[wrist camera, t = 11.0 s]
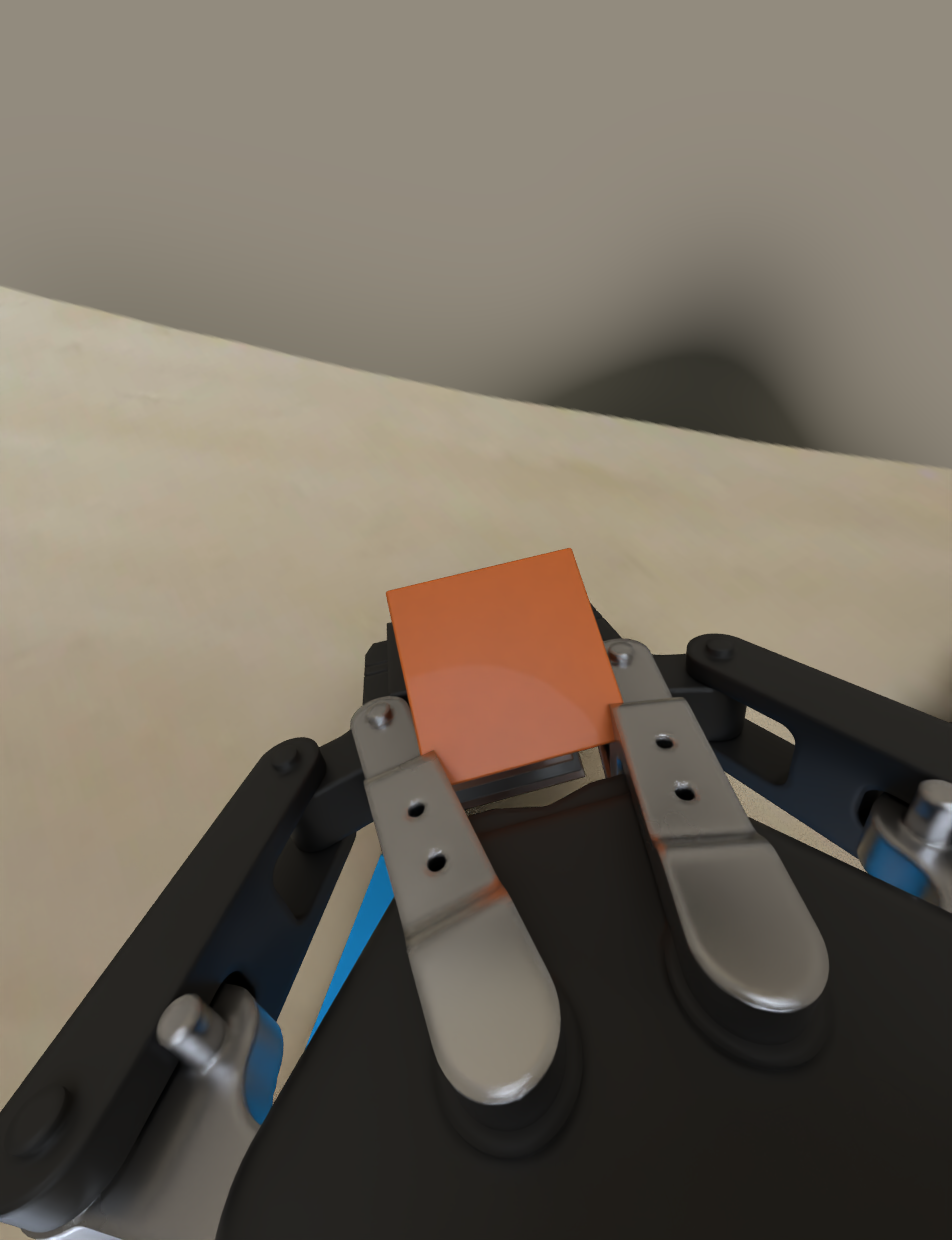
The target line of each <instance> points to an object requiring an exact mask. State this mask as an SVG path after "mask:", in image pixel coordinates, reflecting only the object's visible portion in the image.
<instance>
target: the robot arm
mask: <svg viewBox="0 0 952 1240" xmlns="http://www.w3.org/2000/svg"><path fill="white" fill-rule="evenodd" d="M590 605H591V608H592V611H593V614H594V616H595V619H596V622H597V625H598V628H599V631H600V634H601V637H602V640H603V643H604V646H605V649H606V652H607V655H608V658H609V661H610V664H611V667H612V670H613V673H614V676H615V679H616V681H617V684H618V687H619V690H620V693H621V696H622V699H623V703H613V704H609V708H610V714H611V721H612V727H613V733H614V739H615V742H612V743H608V744H605V745H601V746H598V749H599V753H600V757H601V761H602V765H603V770H604V774H605V778H606V779H602V780H598V781H595V782H591V783H589V784H587V785H586V786H584V787H582V788H580V789H578V790H576V791H575V792H573V793H571V794H569V795H567V796H566V797H564V798H562V799H560V800H558V801H557V802H555V803H553V804H551V805H549V806H544V807H527V808H504V809H493V810H489V811H485V812H482V813H478V814H474V815H471V816H467V815H466V813H465V811H464V809H463V807H462V805H461V803H460V801H459V799H458V797H457V795H456V793H455V791H454V789H453V787H452V785H451V783H450V781H449V779H448V777H447V775H446V773H445V771H444V769H443V767H442V765H441V763H440V761H439V759H438V757H437V755H436V753H435V752H434V750H432V751H430V752H428V753H425V754H423V755H421V756H420V751H419V747H418V742H417V737H416V733H415V728H414V723H413V719H412V714H411V709H410V705H409V700H408V695H407V691H406V686H405V681H404V677H403V672H402V667H401V663H400V658H399V653H398V648H397V644H396V639H395V634H394V630H393V625H392V622H391V623H387V640H386V641H382V642H378V643H374V644H373V645H372V646H371V648H370V649H369V650H368V652H367V653H366V655H365V672H364V675H365V677H364V690H363V706H361V707H360V708H359V709H358V710H357V711H356V712H355V713H354V715H353V717H352V719H351V723H350V725H351V729H350V730H349V731H348V732H347V733H345V734H344V735H342V736H341V737H339V738H337V739H335V740H333V741H331V742H329V743H327V744H325V745H323V746H321V747H318V745H317V743H316V742H315V741H314V740H312V739H310V738H304V737H300V738H293V739H289V740H286V741H284V742H282V743H280V744H278V745H276V746H274V747H273V748H271V749H270V750H269V751H268V752H266V753H265V754H264V755H263V756H262V757H261V759H260V760H259V761H258V763H257V764H256V765H255V767H254V768H253V769H252V771H251V772H250V773H249V775H248V776H247V778H246V779H245V780H244V782H243V783H242V784H241V786H240V787H239V788H238V790H237V791H236V792H235V794H234V795H233V797H232V798H231V799H230V801H229V802H228V803H227V805H226V806H225V807H224V809H223V810H222V812H221V813H220V814H219V816H218V817H217V818H216V820H215V821H214V822H213V824H212V825H211V826H210V828H209V829H208V831H207V832H206V833H205V835H204V836H203V837H202V839H201V840H200V841H199V843H198V844H197V846H196V847H195V848H194V850H193V851H192V852H191V854H190V855H189V856H188V858H187V859H186V861H185V862H184V863H183V865H182V866H181V867H180V869H179V870H178V871H177V873H176V874H175V875H174V877H173V878H172V880H171V881H170V882H169V884H168V885H167V886H166V888H165V889H164V890H163V892H162V893H161V895H160V896H159V897H158V899H157V900H156V901H155V903H154V904H153V905H152V907H151V908H150V909H149V911H148V912H147V914H146V915H145V916H144V918H143V919H142V920H141V922H140V923H139V924H138V926H137V927H136V929H135V930H134V931H133V933H132V934H131V935H130V937H129V938H128V939H127V941H126V942H125V943H124V945H123V946H122V948H121V949H120V950H119V952H118V953H117V954H116V956H115V957H114V958H113V960H112V961H111V963H110V964H109V965H108V967H107V968H106V969H105V971H104V972H103V973H102V975H101V976H100V978H99V979H98V980H97V982H96V983H95V984H94V986H93V987H92V988H91V990H90V991H89V992H88V994H87V995H86V997H85V998H84V999H83V1001H82V1002H81V1003H80V1005H79V1006H78V1007H77V1009H76V1010H75V1012H74V1013H73V1014H72V1016H71V1017H70V1018H69V1020H68V1021H67V1022H66V1024H65V1025H64V1026H63V1028H62V1029H61V1031H60V1032H59V1033H58V1035H57V1036H56V1037H55V1039H54V1040H53V1041H52V1043H51V1044H50V1046H49V1047H48V1048H47V1050H46V1051H45V1052H44V1054H43V1055H42V1056H41V1058H40V1059H39V1060H38V1062H37V1063H36V1065H35V1066H34V1067H33V1069H32V1070H31V1071H30V1073H29V1074H28V1075H27V1077H26V1078H25V1080H24V1081H23V1082H22V1084H21V1085H20V1086H19V1088H18V1089H17V1090H16V1092H15V1093H14V1095H13V1096H12V1097H11V1099H10V1100H9V1101H8V1103H7V1104H6V1105H5V1107H4V1108H3V1109H2V1111H1V1112H0V1222H3V1223H6V1224H9V1225H12V1226H16V1227H19V1228H21V1230H22V1232H23V1233H25V1234H26V1235H27V1236H28V1237H31V1238H34V1239H37V1240H952V724H951V723H948V722H946V721H943V720H941V719H938V718H936V717H933V716H931V715H929V714H926V713H924V712H921V711H919V710H916V709H914V708H911V707H909V706H906V705H904V704H901V703H899V702H896V701H894V700H891V699H889V698H886V697H884V696H881V695H879V694H876V693H874V692H871V691H869V690H866V689H864V688H861V687H859V686H856V685H854V684H852V683H849V682H847V681H844V680H842V679H839V678H837V677H834V676H832V675H829V674H827V673H824V672H822V671H819V670H817V669H814V668H812V667H809V666H807V665H804V664H802V663H799V662H797V661H794V660H792V659H789V658H787V657H784V656H782V655H780V654H777V653H775V652H772V651H770V650H767V649H765V648H762V647H760V646H757V645H755V644H752V643H750V642H747V641H745V640H742V639H740V638H737V637H734V636H730V635H725V634H705V635H701V636H698V637H695V638H693V639H692V640H691V641H690V642H689V643H688V645H687V652H686V654H676V655H653V654H651V652H650V650H649V649H648V648H647V647H646V646H645V645H644V644H642V643H640V642H638V641H635V640H631V639H622V638H621V637H620V636H619V634H618V633H617V632H616V631H615V630H614V629H613V628H612V627H611V626H610V624H609V623H608V622H607V621H606V620H605V619H604V618H602V615H601V614H600V613H599V612H598V611H596V609H595V608H594V607H593V605H592V604H591V603H590ZM747 706H748V707H750V708H752V709H754V710H756V711H758V712H760V713H762V714H764V715H766V716H767V717H769V718H771V719H773V720H775V721H777V722H779V723H781V724H782V725H784V726H785V727H786V728H787V729H788V730H789V731H790V732H791V733H792V735H793V737H794V739H795V745H793V744H791V743H790V742H788V741H786V740H784V739H782V738H780V737H778V736H777V735H775V734H773V733H771V732H769V731H767V730H765V729H764V728H762V727H760V726H758V725H756V724H754V723H753V722H751V721H749V720H747V719H745V713H746V707H747ZM724 771H725V772H726V773H728V774H729V775H731V776H732V777H734V778H735V779H737V780H739V781H740V782H742V783H743V784H745V785H746V786H748V787H749V788H751V789H752V790H754V791H755V792H757V793H758V794H760V795H761V796H763V797H764V798H766V799H767V800H769V801H771V802H772V803H774V804H775V805H777V806H778V807H780V808H781V809H783V810H784V811H786V812H787V813H789V814H790V815H792V816H793V817H795V818H796V819H798V820H799V821H801V822H803V823H804V824H806V825H807V826H809V827H810V828H812V829H813V830H815V831H816V832H818V833H819V834H821V835H822V836H824V837H825V838H827V839H828V840H830V841H831V842H833V843H834V844H836V845H838V846H839V847H841V848H842V849H844V850H845V851H847V852H848V853H850V854H851V855H853V856H854V857H856V858H857V859H859V860H860V862H861V864H862V866H863V867H864V869H865V870H866V872H867V873H866V872H864V871H862V870H860V869H857V868H855V867H853V866H851V865H849V864H847V863H845V862H843V861H840V860H838V859H836V858H834V857H832V856H830V855H828V854H826V853H824V852H821V851H819V850H817V849H815V848H813V847H811V846H809V845H807V844H805V843H802V842H800V841H798V840H796V839H794V838H792V837H790V836H788V835H786V834H783V833H781V832H779V831H777V830H775V829H773V828H771V827H769V826H766V825H764V824H762V823H760V822H758V821H756V820H754V819H752V818H750V817H747V815H746V813H745V811H744V809H743V807H742V805H741V803H740V801H739V799H738V797H737V796H736V794H735V792H734V790H733V788H732V786H731V784H730V782H729V780H728V778H727V776H726V775H725V773H724ZM373 821H374V824H375V827H376V831H377V835H378V838H379V842H380V846H381V849H382V853H383V857H384V860H385V864H386V868H387V871H388V875H389V879H390V882H391V886H392V889H393V893H394V897H393V899H392V901H391V903H390V904H389V906H388V908H387V909H386V911H385V913H384V915H383V916H382V918H381V920H380V921H379V923H378V925H377V927H376V928H375V930H374V932H373V934H372V935H371V937H370V939H369V940H368V942H367V944H366V946H365V947H364V949H363V951H362V952H361V954H360V956H359V958H358V959H357V961H356V963H355V964H354V966H353V968H352V970H351V971H350V973H349V975H348V977H347V978H346V980H345V982H344V983H343V985H342V987H341V989H340V990H339V992H338V994H337V995H336V997H335V999H334V1001H333V1002H332V1004H331V1006H330V1008H329V1009H328V1011H327V1013H326V1014H325V1016H324V1018H323V1020H322V1021H321V1023H320V1025H319V1026H318V1028H317V1030H316V1032H315V1033H314V1035H313V1037H312V1038H311V1040H310V1042H309V1044H308V1045H307V1047H306V1049H305V1051H304V1052H303V1054H302V1056H301V1057H300V1059H299V1061H298V1063H297V1064H296V1066H295V1068H294V1069H293V1071H292V1073H291V1075H290V1076H289V1078H288V1080H287V1082H286V1083H285V1085H284V1087H283V1088H282V1090H281V1092H280V1094H279V1095H278V1097H277V1099H276V1100H275V1102H274V1104H273V1093H274V1091H275V1088H276V1084H277V1076H278V1073H279V1070H280V1066H281V1062H282V1057H283V1036H282V1033H281V1029H280V1027H279V1025H278V1024H277V1022H276V1021H277V1019H278V1017H279V1015H280V1012H281V1010H282V1008H283V1005H284V1003H285V1001H286V998H287V996H288V994H289V991H290V989H291V987H292V984H293V982H294V980H295V977H296V975H297V973H298V971H299V968H300V966H301V964H302V961H303V959H304V957H305V954H306V952H307V950H308V947H309V945H310V943H311V940H312V938H313V936H314V933H315V931H316V929H317V926H318V924H319V922H320V920H321V917H322V915H323V913H324V910H325V908H326V906H327V903H328V901H329V899H330V896H331V894H332V892H333V889H334V887H335V885H336V882H337V880H338V878H339V876H340V873H341V871H342V869H343V866H344V864H345V862H346V859H347V857H348V855H349V852H350V850H351V848H352V845H353V843H354V841H355V838H356V831H358V830H360V829H361V828H363V827H365V826H366V825H368V824H370V823H372V822H373ZM272 1105H273V1106H272Z"/></svg>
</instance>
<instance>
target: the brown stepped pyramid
mask: <svg viewBox="0 0 952 1240" xmlns="http://www.w3.org/2000/svg"><path fill="white" fill-rule="evenodd" d="M583 777H585V772H584V769H583V765H582V762H581V759H580V756H579V752H575V753H571V754H568V755H564V756H560V757H556V758H553V759H549V760H545V761H542V762H538V763H534V764H530V765H527V766H523V767H519V768H516V769H512V770H508V771H504V772H501V773H497V774H493V775H490V776H486V777H482V778H479V779H475V780H471V781H467V782H464V783H460V784H456V785H453V786H452V787H453V789H454V791H455V793H456V795H457V797H458V799H459V801H460V803H461V805H462V807H463V809H464V810H466V809H469V808H473V807H477V806H480V805H484V804H488V803H491V802H495V801H499V800H502V799H506V798H510V797H513V796H517V795H521V794H524V793H528V792H531V791H535V790H539V789H542V788H546V787H550V786H553V785H557V784H561V783H564V782H568V781H572V780H575V779H579V778H583Z"/></svg>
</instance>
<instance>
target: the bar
mask: <svg viewBox="0 0 952 1240" xmlns="http://www.w3.org/2000/svg"><path fill="white" fill-rule="evenodd" d="M386 597H387V602H388V606H389V611H390V616H391V620H392V625H393V630H394V634H395V639H396V644H397V648H398V653H399V658H400V663H401V667H402V672H403V677H404V681H405V686H406V691H407V695H408V700H409V705H410V709H411V714H412V719H413V723H414V728H415V733H416V737H417V742H418V747H419V751H420V756H421V755H423V754H425V753H428V752H430V751H432V750H434V752H435V753H436V755H437V757H438V759H439V761H440V763H441V765H442V767H443V769H444V771H445V773H446V775H447V777H448V779H449V781H450V783H451V785H452V786H453V785H456V784H460V783H464V782H467V781H471V780H475V779H479V778H482V777H486V776H490V775H493V774H497V773H501V772H504V771H508V770H512V769H516V768H519V767H523V766H527V765H530V764H534V763H538V762H542V761H545V760H549V759H553V758H556V757H560V756H564V755H568V754H571V753H575V752H579V751H582V750H586V749H590V748H593V747H597V746H601V745H605V744H608V743H612V742H615V739H614V733H613V727H612V721H611V714H610V708H609V704H613V703H623V699H622V696H621V693H620V690H619V687H618V684H617V681H616V679H615V676H614V673H613V670H612V667H611V664H610V661H609V658H608V655H607V652H606V649H605V646H604V643H603V640H602V637H601V634H600V631H599V628H598V625H597V622H596V619H595V616H594V614H593V611H592V608H591V605H590V602H589V599H588V596H587V593H586V590H585V587H584V584H583V581H582V578H581V575H580V572H579V569H578V566H577V563H576V560H575V557H574V554H573V551H572V549H571V548H567V549H562V550H558V551H554V552H550V553H546V554H541V555H537V556H533V557H529V558H525V559H520V560H516V561H512V562H508V563H504V564H499V565H495V566H491V567H487V568H482V569H478V570H474V571H470V572H466V573H461V574H457V575H453V576H449V577H445V578H440V579H436V580H432V581H428V582H423V583H419V584H415V585H411V586H407V587H402V588H398V589H394V590H390V591H387V592H386Z"/></svg>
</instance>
